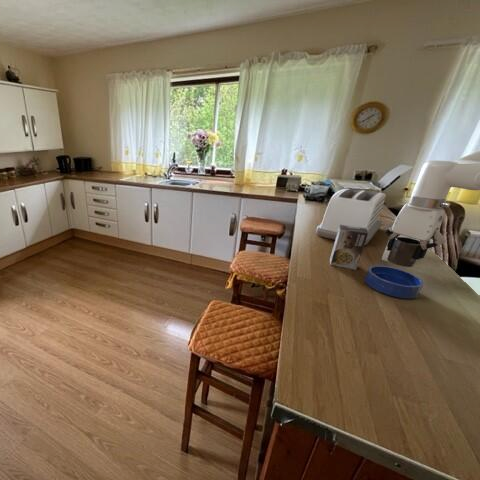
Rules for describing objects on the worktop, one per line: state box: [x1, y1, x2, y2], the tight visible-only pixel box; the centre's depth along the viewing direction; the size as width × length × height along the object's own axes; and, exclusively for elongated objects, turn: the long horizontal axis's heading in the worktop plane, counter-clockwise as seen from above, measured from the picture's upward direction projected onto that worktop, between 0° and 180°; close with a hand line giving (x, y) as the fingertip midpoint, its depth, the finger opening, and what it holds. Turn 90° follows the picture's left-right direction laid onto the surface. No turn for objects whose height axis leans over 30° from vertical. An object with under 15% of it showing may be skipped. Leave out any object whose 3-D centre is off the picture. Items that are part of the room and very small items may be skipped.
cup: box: [387, 237, 421, 268], centre depth 85 cm, size 7×7×8 cm
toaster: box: [315, 188, 387, 246], centre depth 139 cm, size 23×45×22 cm, turn 133°
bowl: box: [364, 265, 425, 300], centre depth 90 cm, size 15×15×5 cm
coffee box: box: [329, 225, 368, 271], centre depth 103 cm, size 9×6×16 cm
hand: (403, 254), depth 85 cm, fingers closed on cup, 6 cm apart
